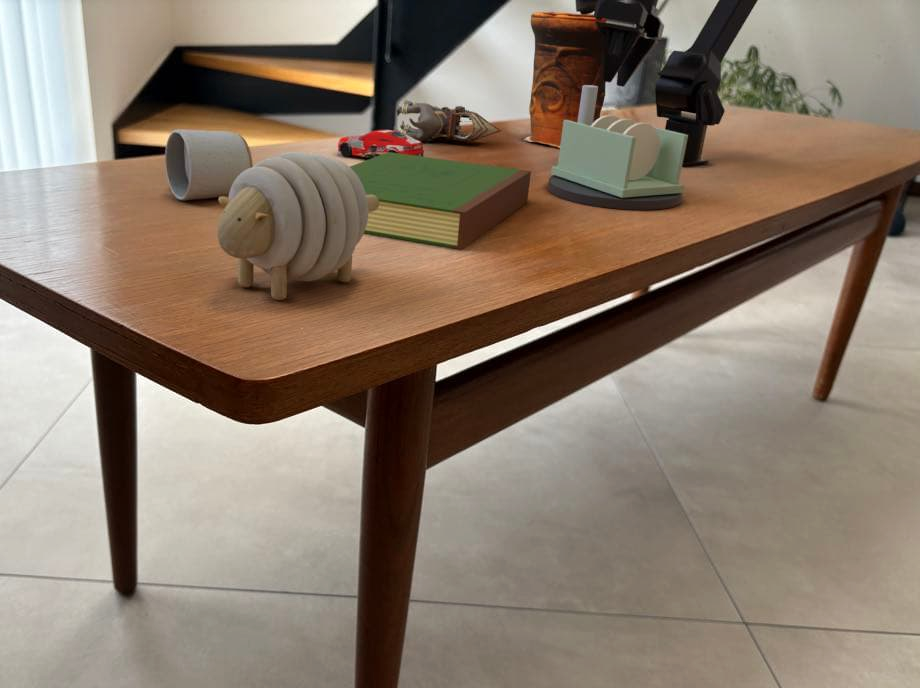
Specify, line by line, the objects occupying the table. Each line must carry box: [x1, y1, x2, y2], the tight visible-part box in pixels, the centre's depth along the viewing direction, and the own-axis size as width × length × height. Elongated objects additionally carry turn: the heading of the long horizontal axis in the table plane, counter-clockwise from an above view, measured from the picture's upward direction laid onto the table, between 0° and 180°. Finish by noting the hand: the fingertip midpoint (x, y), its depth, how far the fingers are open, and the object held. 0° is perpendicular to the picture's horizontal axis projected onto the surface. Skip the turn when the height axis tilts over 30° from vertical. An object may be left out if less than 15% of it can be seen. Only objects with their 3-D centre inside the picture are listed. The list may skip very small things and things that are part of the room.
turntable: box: [547, 174, 683, 211], centre depth 114 cm, size 17×17×1 cm
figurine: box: [393, 99, 502, 143], centre depth 144 cm, size 20×6×17 cm
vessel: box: [524, 11, 607, 149], centre depth 145 cm, size 14×14×20 cm
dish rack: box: [550, 85, 688, 198], centre depth 112 cm, size 16×10×11 cm, turn 28°
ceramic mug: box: [164, 128, 254, 201], centre depth 102 cm, size 11×8×8 cm
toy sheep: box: [216, 150, 379, 301], centre depth 74 cm, size 11×17×11 cm, turn 140°
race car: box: [337, 129, 425, 159], centre depth 127 cm, size 13×5×4 cm, turn 60°
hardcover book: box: [349, 152, 532, 250], centre depth 101 cm, size 25×19×4 cm
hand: (613, 84), depth 125 cm, fingers open, 9 cm apart
